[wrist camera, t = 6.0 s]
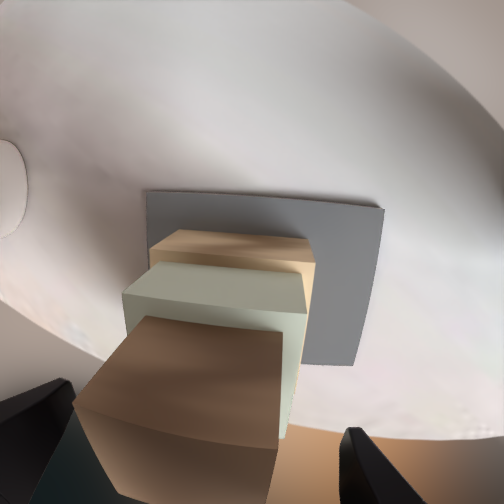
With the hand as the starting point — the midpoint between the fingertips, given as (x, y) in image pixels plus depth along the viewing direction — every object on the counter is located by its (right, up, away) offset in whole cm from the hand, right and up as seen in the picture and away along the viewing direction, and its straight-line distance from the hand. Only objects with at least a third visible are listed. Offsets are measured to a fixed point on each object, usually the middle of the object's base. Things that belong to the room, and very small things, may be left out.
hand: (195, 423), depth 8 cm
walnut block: (0, +1, +2) cm, 2 cm away
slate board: (+2, +3, +10) cm, 10 cm away
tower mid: (0, +2, +5) cm, 6 cm away
